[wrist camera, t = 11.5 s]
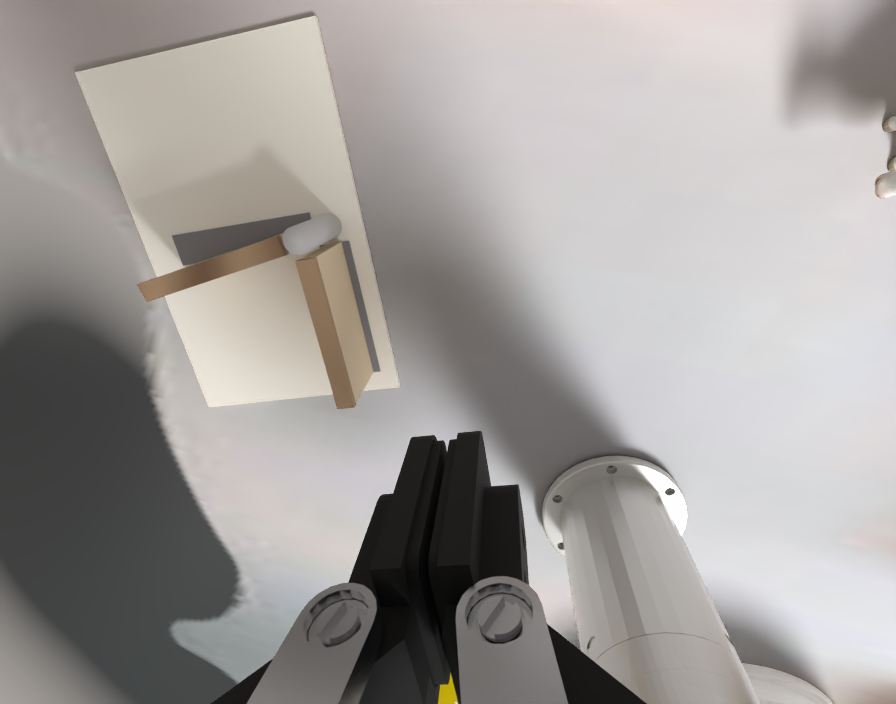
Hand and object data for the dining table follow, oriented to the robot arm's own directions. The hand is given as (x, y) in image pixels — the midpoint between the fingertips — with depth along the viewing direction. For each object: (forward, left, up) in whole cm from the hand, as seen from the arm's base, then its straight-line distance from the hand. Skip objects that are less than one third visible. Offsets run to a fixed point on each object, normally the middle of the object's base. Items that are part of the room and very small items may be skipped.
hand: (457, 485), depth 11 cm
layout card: (+4, +18, -27) cm, 32 cm away
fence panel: (+3, +18, -26) cm, 32 cm away
